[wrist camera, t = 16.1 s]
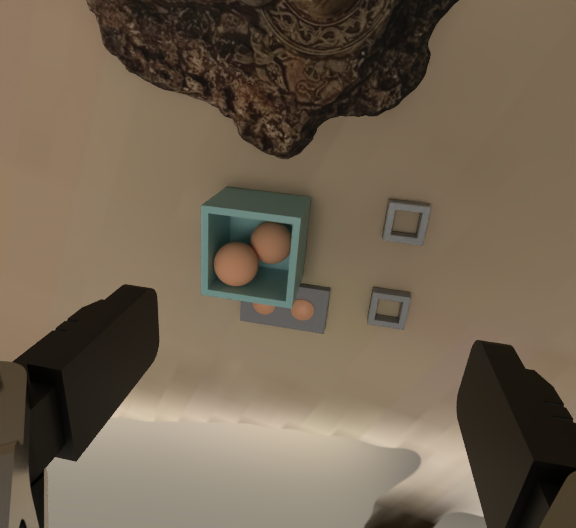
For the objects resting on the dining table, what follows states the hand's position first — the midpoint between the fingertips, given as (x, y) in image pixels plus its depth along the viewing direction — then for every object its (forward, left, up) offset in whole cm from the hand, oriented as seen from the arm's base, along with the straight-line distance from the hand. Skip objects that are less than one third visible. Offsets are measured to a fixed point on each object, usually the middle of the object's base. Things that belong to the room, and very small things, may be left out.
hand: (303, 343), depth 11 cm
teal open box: (+7, +8, -30) cm, 32 cm away
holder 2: (-6, +14, -30) cm, 34 cm away
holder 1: (-6, +5, -30) cm, 31 cm away
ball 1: (+9, +9, -25) cm, 28 cm away
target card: (+5, +15, -30) cm, 34 cm away
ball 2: (+6, +8, -27) cm, 29 cm away
